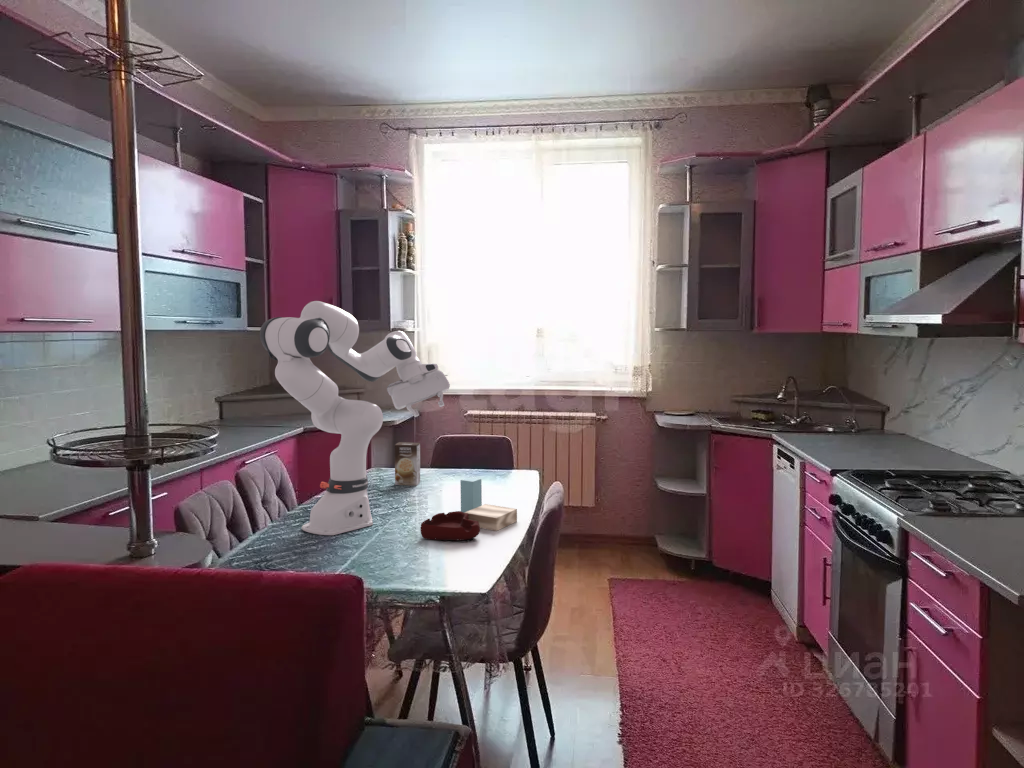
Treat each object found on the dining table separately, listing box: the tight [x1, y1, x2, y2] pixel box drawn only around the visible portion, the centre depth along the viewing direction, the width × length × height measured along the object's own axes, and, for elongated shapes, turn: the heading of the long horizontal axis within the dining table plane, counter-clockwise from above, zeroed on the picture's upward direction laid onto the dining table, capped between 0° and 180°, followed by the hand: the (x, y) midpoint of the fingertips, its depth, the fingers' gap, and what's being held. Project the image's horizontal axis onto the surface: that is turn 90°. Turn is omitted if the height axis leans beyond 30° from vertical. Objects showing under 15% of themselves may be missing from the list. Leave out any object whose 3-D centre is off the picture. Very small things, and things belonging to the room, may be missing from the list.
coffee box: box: [394, 441, 421, 487], centre depth 271 cm, size 9×6×16 cm
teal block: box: [460, 476, 483, 512], centre depth 230 cm, size 5×5×11 cm
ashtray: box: [420, 510, 481, 542], centre depth 204 cm, size 18×16×5 cm
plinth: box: [464, 503, 518, 532], centre depth 216 cm, size 12×12×4 cm
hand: (429, 411), depth 233 cm, fingers open, 8 cm apart
